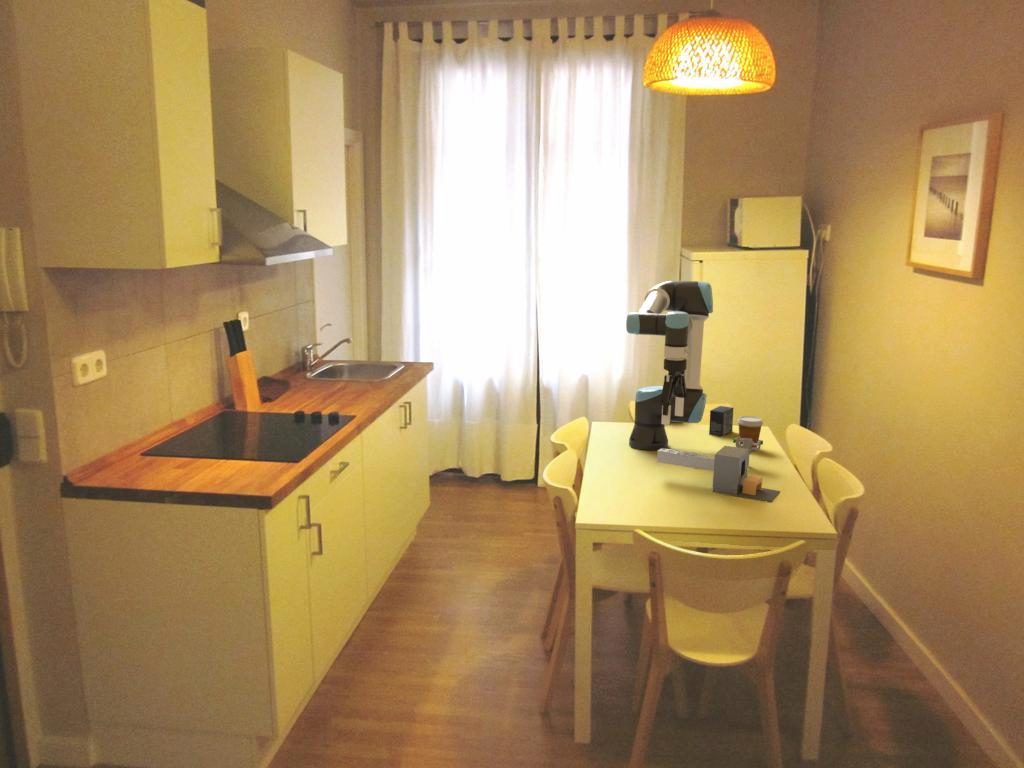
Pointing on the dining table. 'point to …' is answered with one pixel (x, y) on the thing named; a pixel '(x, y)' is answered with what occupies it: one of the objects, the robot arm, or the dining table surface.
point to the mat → (761, 495)
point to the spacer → (752, 484)
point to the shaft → (686, 459)
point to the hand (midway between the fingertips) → (672, 420)
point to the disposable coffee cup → (750, 428)
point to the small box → (721, 421)
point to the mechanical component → (747, 444)
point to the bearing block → (730, 470)
